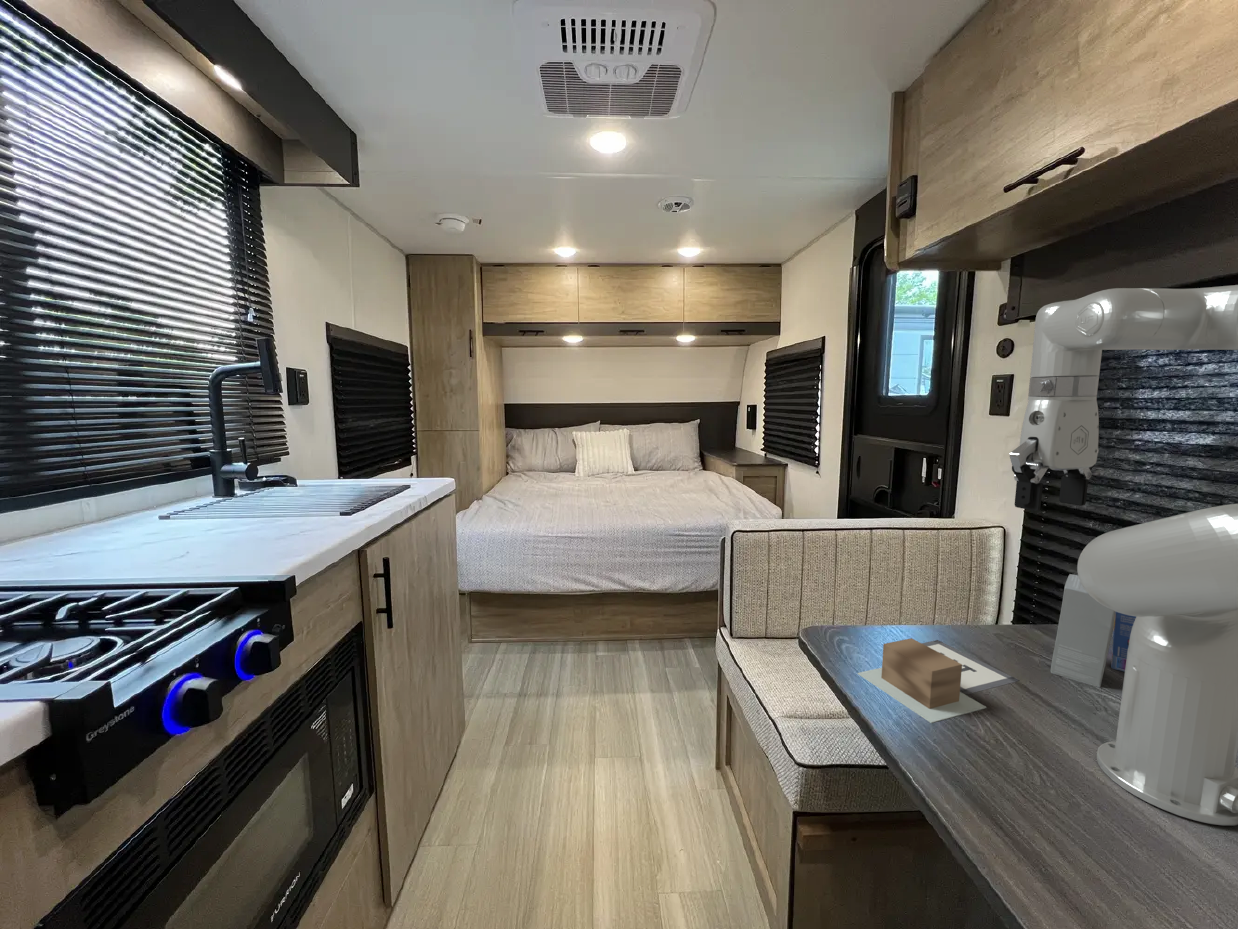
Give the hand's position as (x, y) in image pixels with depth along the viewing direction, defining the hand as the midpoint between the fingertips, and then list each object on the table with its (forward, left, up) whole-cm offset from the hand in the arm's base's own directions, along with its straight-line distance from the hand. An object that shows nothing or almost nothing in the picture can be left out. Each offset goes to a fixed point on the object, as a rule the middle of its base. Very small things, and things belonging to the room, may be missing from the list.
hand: (1049, 506), depth 76 cm
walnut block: (+7, +15, -30) cm, 34 cm away
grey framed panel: (+11, +3, -30) cm, 32 cm away
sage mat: (+7, +15, -30) cm, 35 cm away
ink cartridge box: (+1, -27, -31) cm, 41 cm away
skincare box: (+2, -15, -31) cm, 34 cm away
